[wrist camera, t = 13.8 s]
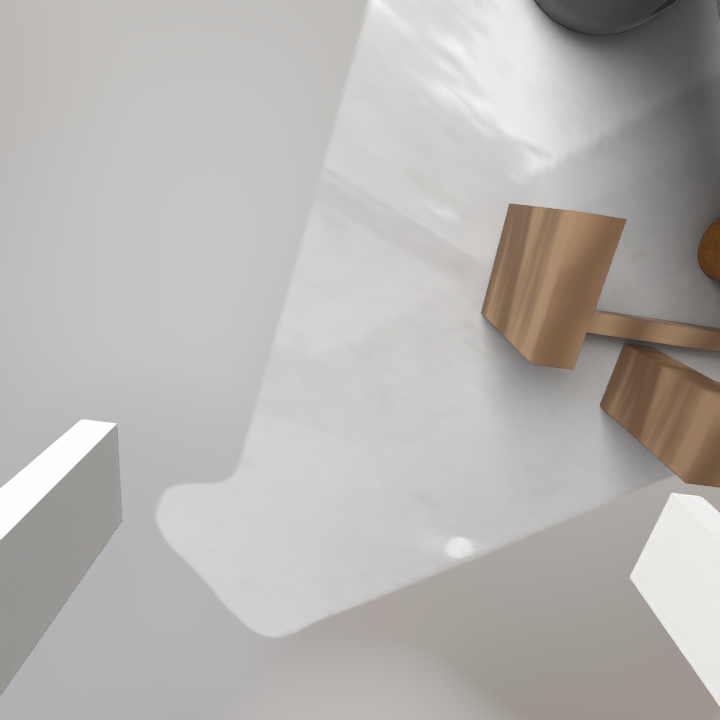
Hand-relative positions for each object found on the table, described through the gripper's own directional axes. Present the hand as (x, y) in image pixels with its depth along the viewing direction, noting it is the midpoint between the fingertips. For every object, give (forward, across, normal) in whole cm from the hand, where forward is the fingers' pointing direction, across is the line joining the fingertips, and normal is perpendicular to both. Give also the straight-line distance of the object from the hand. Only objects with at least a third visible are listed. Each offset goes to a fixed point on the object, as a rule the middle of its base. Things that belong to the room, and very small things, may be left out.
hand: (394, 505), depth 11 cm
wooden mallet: (+33, +33, -7) cm, 47 cm away
